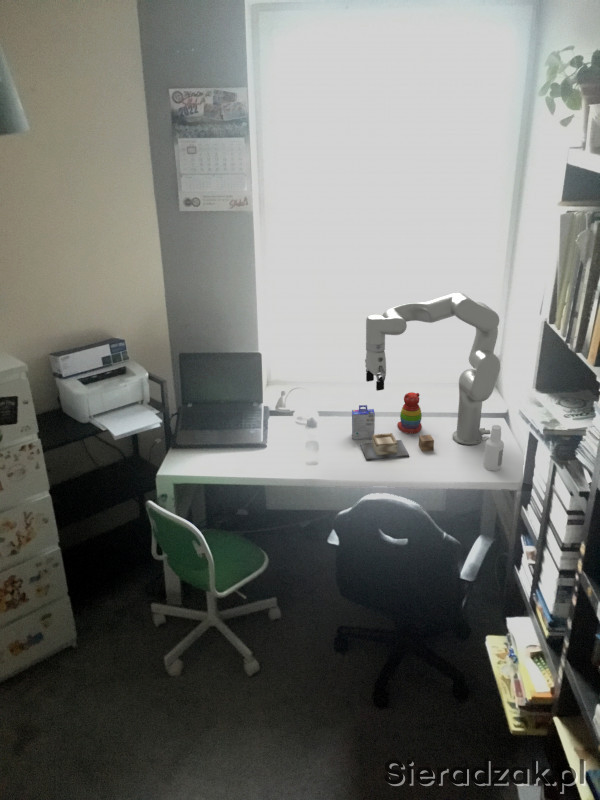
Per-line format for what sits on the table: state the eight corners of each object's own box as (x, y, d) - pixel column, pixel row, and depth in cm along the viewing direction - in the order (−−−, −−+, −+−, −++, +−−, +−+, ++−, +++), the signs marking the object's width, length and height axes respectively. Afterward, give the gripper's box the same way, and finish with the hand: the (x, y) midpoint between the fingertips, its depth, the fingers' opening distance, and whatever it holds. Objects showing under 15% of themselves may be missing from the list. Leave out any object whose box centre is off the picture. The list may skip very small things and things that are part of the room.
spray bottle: (504, 469, 254) (509, 429, 247) (489, 472, 253) (493, 432, 245) (495, 461, 260) (499, 421, 253) (480, 463, 259) (484, 424, 251)
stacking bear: (420, 423, 293) (421, 387, 285) (424, 433, 283) (426, 397, 276) (396, 424, 293) (397, 388, 285) (400, 434, 283) (401, 398, 276)
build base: (400, 441, 277) (401, 429, 275) (409, 456, 266) (409, 444, 263) (360, 445, 276) (360, 433, 273) (366, 460, 264) (366, 448, 261)
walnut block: (429, 444, 274) (430, 434, 272) (433, 450, 270) (434, 440, 268) (418, 445, 274) (419, 435, 272) (421, 451, 269) (422, 441, 267)
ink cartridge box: (373, 433, 286) (374, 403, 279) (375, 439, 281) (375, 409, 274) (351, 433, 286) (351, 404, 280) (352, 439, 281) (352, 410, 275)
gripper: (393, 351, 247) (392, 391, 255) (374, 337, 262) (374, 376, 270) (376, 354, 245) (375, 395, 253) (358, 340, 260) (358, 379, 268)
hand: (374, 385), depth 261 cm, fingers open, 9 cm apart
